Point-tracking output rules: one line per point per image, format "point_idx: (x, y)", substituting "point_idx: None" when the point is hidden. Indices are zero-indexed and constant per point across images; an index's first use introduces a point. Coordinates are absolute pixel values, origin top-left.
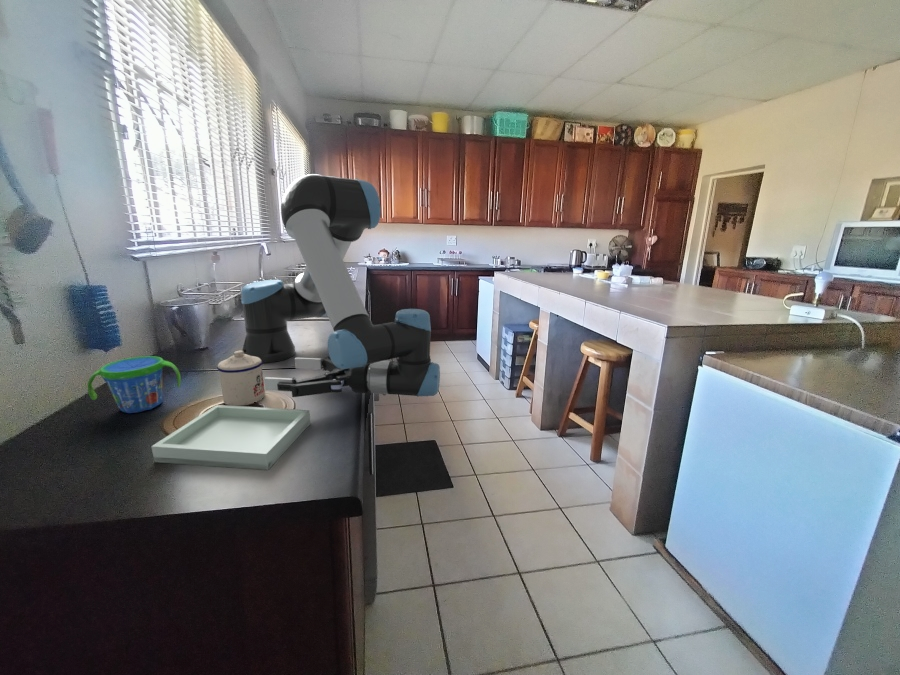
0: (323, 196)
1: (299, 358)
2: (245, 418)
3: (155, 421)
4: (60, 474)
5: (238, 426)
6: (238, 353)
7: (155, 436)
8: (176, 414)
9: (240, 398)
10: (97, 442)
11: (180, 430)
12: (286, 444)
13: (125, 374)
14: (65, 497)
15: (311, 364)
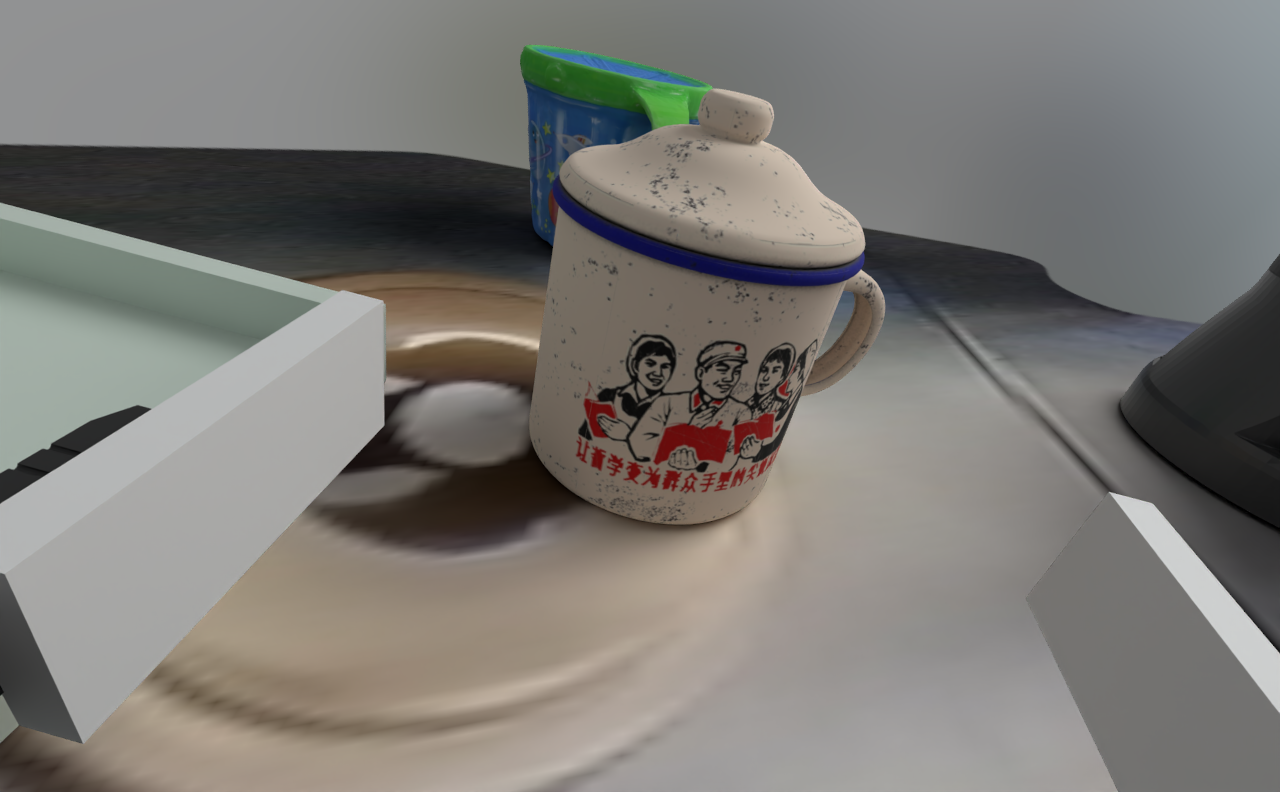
0: None
1: (1153, 542)
2: None
3: (446, 261)
4: (126, 176)
5: None
6: (708, 98)
7: (287, 264)
8: (496, 289)
9: (536, 395)
10: (330, 203)
11: (67, 232)
12: None
13: (525, 60)
14: None
15: (1204, 788)
